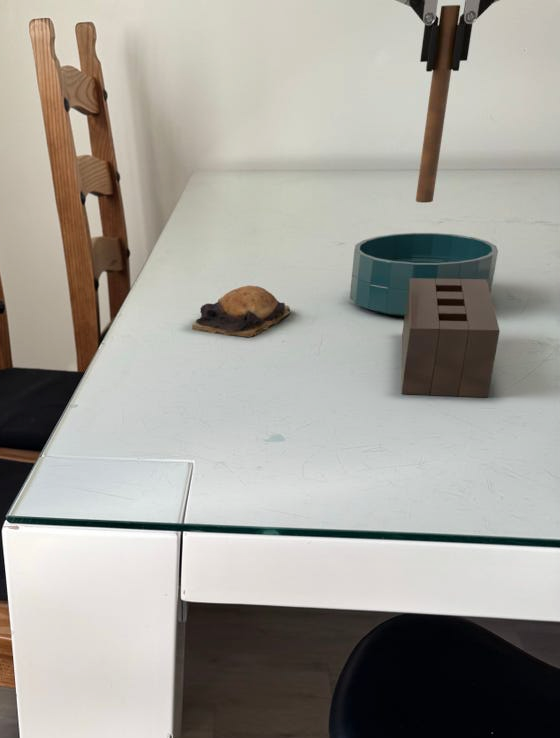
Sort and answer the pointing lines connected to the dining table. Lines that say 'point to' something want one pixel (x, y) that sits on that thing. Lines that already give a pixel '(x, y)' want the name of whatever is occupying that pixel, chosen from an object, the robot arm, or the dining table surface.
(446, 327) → the holder
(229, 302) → the turtle figurine
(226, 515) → the dining table surface
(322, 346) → the dining table surface
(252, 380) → the dining table surface
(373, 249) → the bowl
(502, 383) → the dining table surface
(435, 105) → the stick
